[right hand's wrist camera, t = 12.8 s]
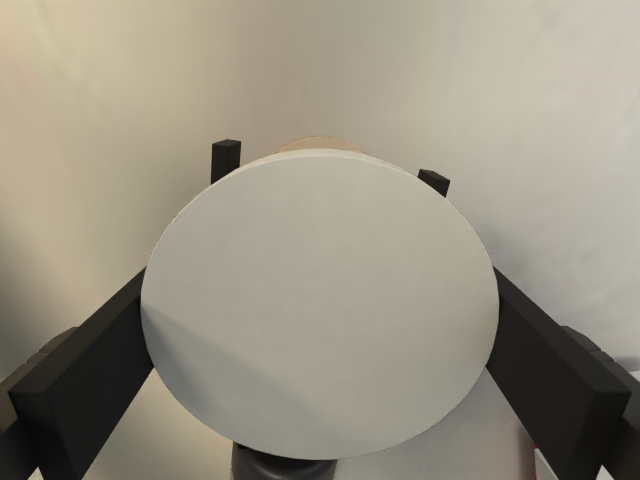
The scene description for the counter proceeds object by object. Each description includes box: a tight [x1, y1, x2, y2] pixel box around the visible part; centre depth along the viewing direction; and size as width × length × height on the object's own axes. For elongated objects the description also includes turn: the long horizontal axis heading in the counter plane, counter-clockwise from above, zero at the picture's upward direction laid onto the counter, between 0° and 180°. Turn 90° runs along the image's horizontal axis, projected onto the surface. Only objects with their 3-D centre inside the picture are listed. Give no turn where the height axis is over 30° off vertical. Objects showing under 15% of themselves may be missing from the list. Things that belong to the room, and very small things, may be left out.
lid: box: [140, 148, 499, 460], centre depth 11 cm, size 11×11×2 cm
